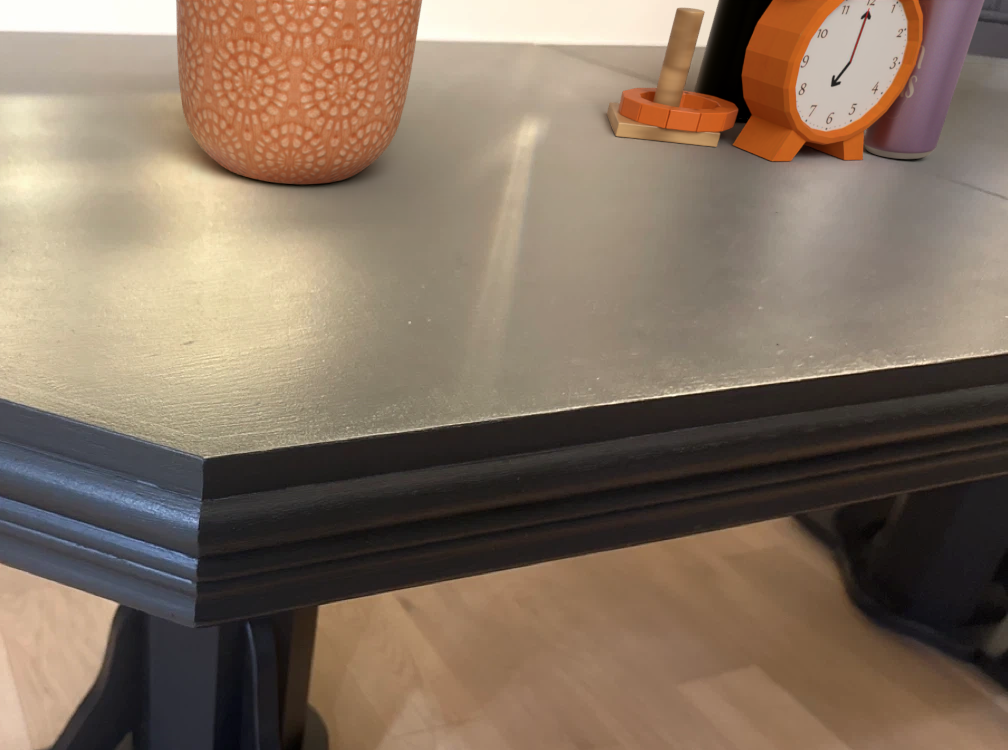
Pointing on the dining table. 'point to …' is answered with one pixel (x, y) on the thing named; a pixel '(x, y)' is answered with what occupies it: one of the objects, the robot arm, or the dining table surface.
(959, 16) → the beverage can
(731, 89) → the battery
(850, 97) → the alarm clock
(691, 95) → the disc ring
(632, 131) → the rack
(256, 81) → the planter
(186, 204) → the dining table surface
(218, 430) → the dining table surface
